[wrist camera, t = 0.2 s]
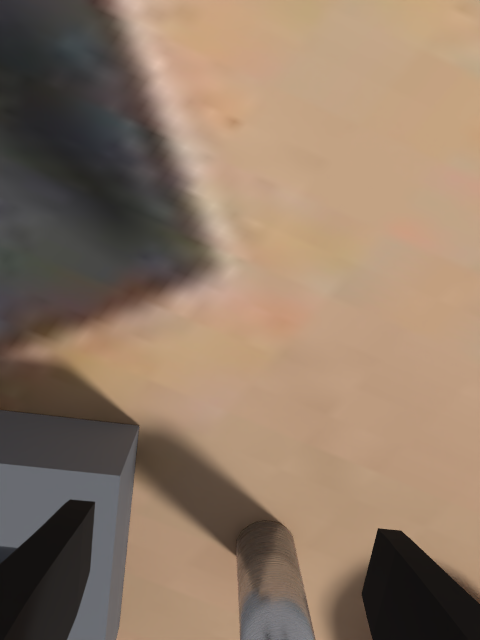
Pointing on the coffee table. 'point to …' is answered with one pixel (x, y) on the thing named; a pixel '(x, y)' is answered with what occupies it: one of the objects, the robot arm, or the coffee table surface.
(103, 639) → the hole board
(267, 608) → the pin
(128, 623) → the coffee table surface
